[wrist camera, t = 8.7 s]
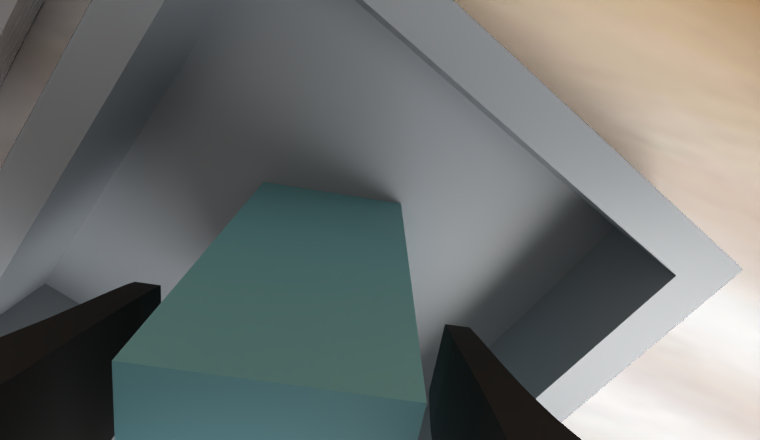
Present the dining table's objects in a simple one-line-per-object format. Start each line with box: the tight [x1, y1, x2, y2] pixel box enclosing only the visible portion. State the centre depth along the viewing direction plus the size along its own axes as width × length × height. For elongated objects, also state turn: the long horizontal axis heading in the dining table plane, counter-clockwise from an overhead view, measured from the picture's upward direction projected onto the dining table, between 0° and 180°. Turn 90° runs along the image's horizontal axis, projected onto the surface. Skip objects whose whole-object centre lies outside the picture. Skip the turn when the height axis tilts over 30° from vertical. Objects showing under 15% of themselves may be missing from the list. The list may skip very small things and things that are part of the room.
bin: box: [0, 0, 743, 440], centre depth 15 cm, size 16×16×4 cm
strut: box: [112, 182, 427, 440], centre depth 12 cm, size 4×4×9 cm
